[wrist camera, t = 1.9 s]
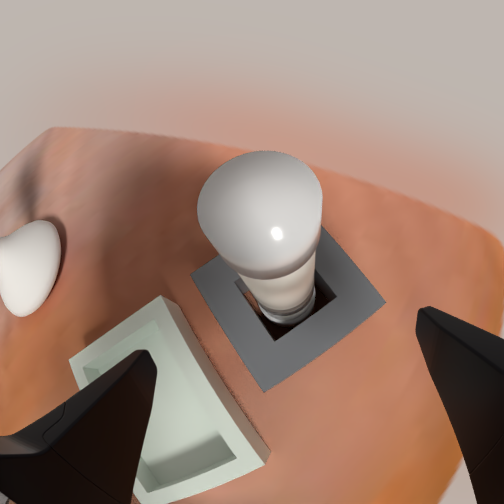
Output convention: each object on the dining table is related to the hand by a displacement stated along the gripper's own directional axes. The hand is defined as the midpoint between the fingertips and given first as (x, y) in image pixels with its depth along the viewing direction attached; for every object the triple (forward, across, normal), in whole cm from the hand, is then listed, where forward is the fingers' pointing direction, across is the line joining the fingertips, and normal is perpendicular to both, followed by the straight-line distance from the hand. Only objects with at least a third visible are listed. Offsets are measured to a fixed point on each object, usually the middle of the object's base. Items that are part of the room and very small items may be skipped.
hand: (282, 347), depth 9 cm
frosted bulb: (+11, 0, +5) cm, 12 cm away
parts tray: (+6, +10, +10) cm, 15 cm away
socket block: (+11, 0, +5) cm, 12 cm away
